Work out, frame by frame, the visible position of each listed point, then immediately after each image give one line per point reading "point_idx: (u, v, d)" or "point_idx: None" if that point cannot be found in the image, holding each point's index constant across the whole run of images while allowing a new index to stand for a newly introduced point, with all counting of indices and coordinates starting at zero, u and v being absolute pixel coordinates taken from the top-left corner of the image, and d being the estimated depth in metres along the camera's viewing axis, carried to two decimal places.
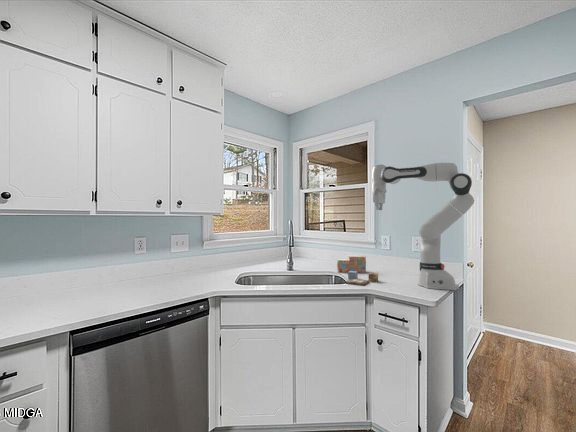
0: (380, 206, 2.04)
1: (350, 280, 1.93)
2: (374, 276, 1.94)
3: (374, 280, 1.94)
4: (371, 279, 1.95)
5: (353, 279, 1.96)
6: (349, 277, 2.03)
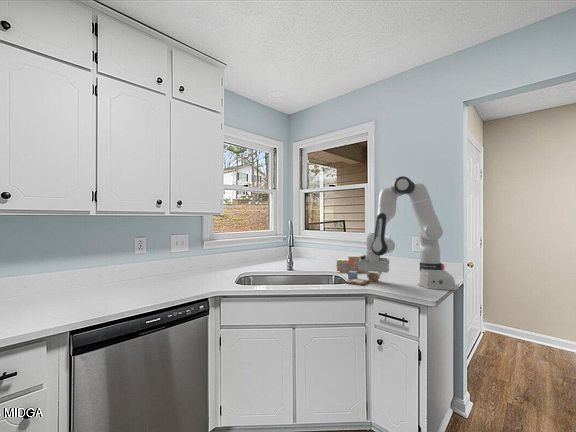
0: (367, 273, 1.99)
1: (350, 280, 1.93)
2: (374, 276, 1.94)
3: (374, 280, 1.94)
4: (371, 279, 1.95)
5: (353, 279, 1.96)
6: (349, 277, 2.03)
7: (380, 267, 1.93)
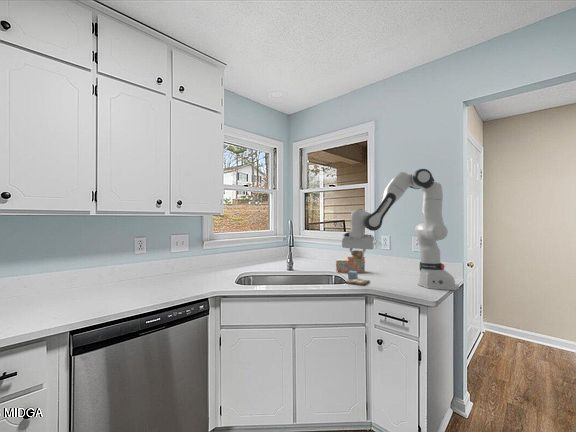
0: (351, 251, 1.93)
1: (350, 280, 1.93)
2: (358, 253, 1.89)
3: (358, 257, 1.89)
4: (355, 256, 1.90)
5: (353, 279, 1.96)
6: (349, 277, 2.03)
7: (364, 244, 1.87)
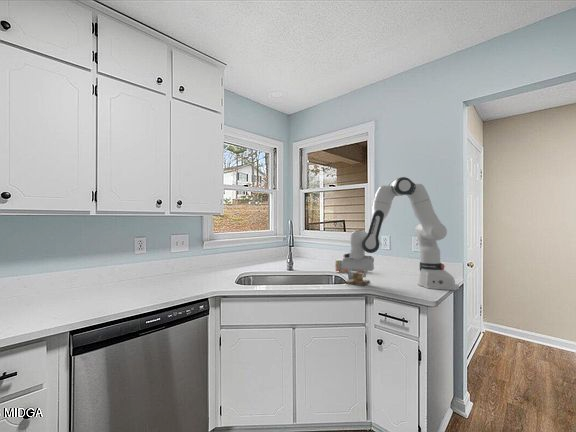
0: (350, 272, 1.94)
1: (350, 280, 1.93)
2: (358, 275, 1.88)
3: (358, 280, 1.88)
4: (355, 279, 1.90)
5: None
6: (349, 277, 2.03)
7: (365, 265, 1.87)
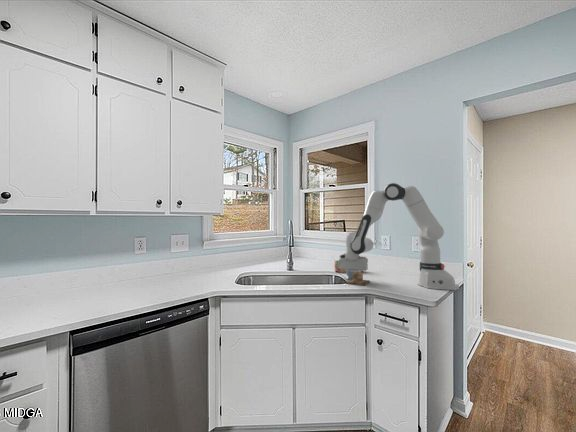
0: (347, 271, 2.06)
1: (350, 280, 1.93)
2: (358, 275, 1.88)
3: (358, 280, 1.88)
4: (355, 279, 1.90)
5: None
6: (349, 277, 2.03)
7: (359, 265, 2.00)
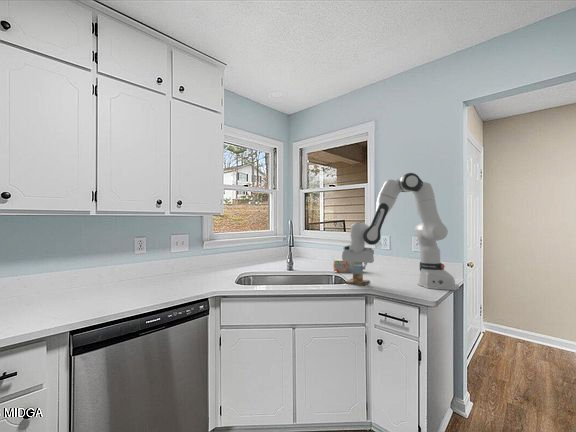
0: (350, 264, 1.94)
1: (350, 280, 1.93)
2: (358, 275, 1.88)
3: (358, 280, 1.88)
4: (355, 279, 1.90)
5: None
6: (354, 271, 1.90)
7: (365, 257, 1.87)
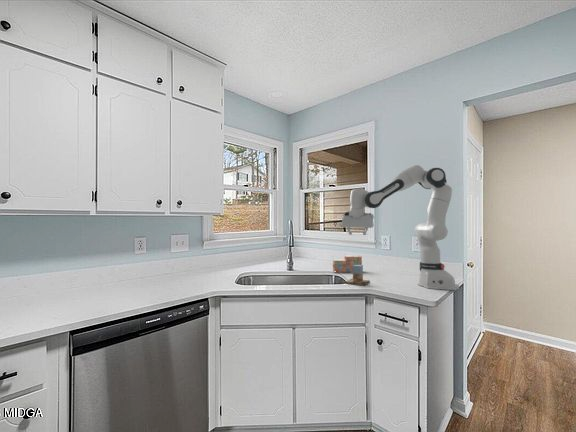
0: (349, 230, 1.94)
1: (350, 280, 1.93)
2: (358, 275, 1.88)
3: (358, 280, 1.88)
4: (355, 279, 1.90)
5: None
6: (354, 271, 1.90)
7: (364, 222, 1.87)
